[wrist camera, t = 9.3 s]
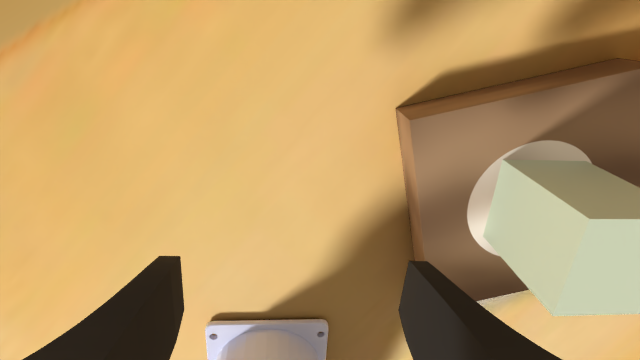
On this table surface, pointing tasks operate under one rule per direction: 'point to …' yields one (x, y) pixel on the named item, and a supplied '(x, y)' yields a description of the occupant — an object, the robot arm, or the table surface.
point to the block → (569, 235)
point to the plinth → (508, 157)
